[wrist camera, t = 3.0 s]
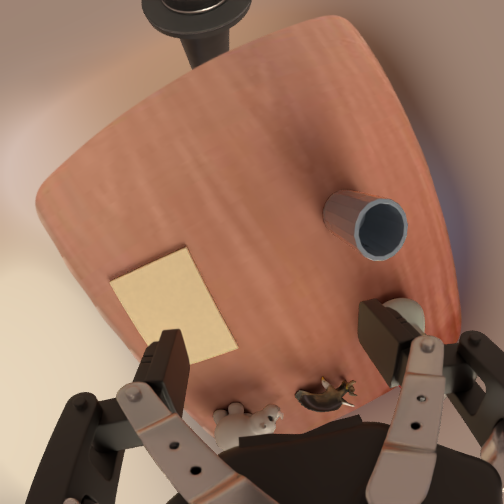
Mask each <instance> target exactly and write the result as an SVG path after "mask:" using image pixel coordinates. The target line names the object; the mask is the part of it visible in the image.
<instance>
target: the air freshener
mask: <svg viewBox="0 0 504 504" xmlns="http://www.w3.org/2000/svg"><path fill="white" fill-rule="evenodd" d="M382 305H383V306H384V307H390V308H392V309H394V310H396V311H397V312H399V313H400V314H401V315H402V317H404V318H405V319H406V320H407V322H409V323H410V324H411V325H412V326H413V327H414V328H415V329H416V330H417V331H418V332H419V333H420V334H421V335H426V334H425V333H424V331H425V319H424V313H423V310H422V308H421V306H420V305H419V304H418V303H417V302H415V301H414V300H412V299H408V298H396V299H392V300H389V301H387V302H385V303H384V304H382ZM369 358H370V357H369Z"/></svg>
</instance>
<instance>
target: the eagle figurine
mask: <svg viewBox="0 0 504 504" xmlns="http://www.w3.org/2000/svg"><path fill="white" fill-rule="evenodd" d="M354 383H356V381H354V380H352V381H350V382H349V383H348V382H347V381H346V380H344V381H343V382H342V384H341V385H340V387H338V388H337V389H335V388H334V387H333V386H332V385H331V384H329V383H328V382H327V381H326V380H325V379H324V377H322V385H323V386H324V388H325V390H326V391H325V392H323V393H321V394H316V393H309V392H306V391H302V390H299V392H297V394H295V398H297V399H298V400H299V401H298V402H300V403H301V405H302V406H304V407H305V408H307V409H308V410H312V411H316V412H329V411H334V410H337V409H339V408H340V406H341V404H345V405H349V406H352V407H354V405H353V404H350V403H348V402H347V401H346V400H344V399H343V398H342V397H343V396H344V395H345V394H346V393H347V392H349V395H352V396H357V395H356V394H354V393H353V392H354V391H355V389H354V387H353V386H352V385H353V384H354Z"/></svg>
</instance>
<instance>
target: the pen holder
mask: <svg viewBox="0 0 504 504" xmlns="http://www.w3.org/2000/svg"><path fill="white" fill-rule="evenodd" d="M323 220H324V223H325V226H326V227H327V229H328V230H329V231H330V232H331V233H332V234H333V235H334V236H336V237H337V238H339V239H340V240H342V241H343V242H344V243H346V244H347V245H349V246H350V247H352V248H353V249H354V250H356V251H357V252H359V253H360V254H362V255H363V256H364V257H366V258H369V259H371V260H373V261H383V260H386V259H388V258H390V257H392V256H394V255H395V254H396V253H397V252H398V251H399V250H400V249H401V247H402V246H403V243H404V241H405V239H406V236H407V228H408V223H407V219H406V214H405V212H404V211H403V209H402V208H401V206H400V205H399V204H398V203H396V202H394V201H393V200H391V199H388V198H384V197H380V196H376V195H371V194H367V193H363V192H358V191H354V190H340V191H337V192H335V193H334V194H332V195H331V196H330V197H329V198H328V200H327V201H326V203H325V206H324V209H323Z"/></svg>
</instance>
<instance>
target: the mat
mask: <svg viewBox="0 0 504 504" xmlns="http://www.w3.org/2000/svg"><path fill="white" fill-rule="evenodd" d="M110 284H111V286H112V288H113V290H114V292H115V293H116V295H117V297H118V299H119V300H120V302H121V304H122V305H123V307H124V309H125V310H126V312H127V314H128V315H129V317H130V319H131V320H132V322H133V323H134V325H135V327H136V328H137V330H138V331H139V333H140V334H141V336H142V338H143V339H144V341H145V342H146V344H147V345H148V346H149V345H150V344H151V343H152V342H154V341H159V339H160V336H161V333H162V331H163V330H168V329H180V330H181V332H182V336H183V339H184V343H185V346H186V350H187V353H188V357H189V362H190V364H194V363H197V362H200V361H203V360H206V359H209V358H212V357H215V356H218V355H221V354H223V353H226V352H229V351H232V350H235V349H238V345H237V343H236V341H235V339H234V337H233V336H232V334H231V332H230V330H229V328H228V326H227V324H226V323H225V321H224V319H223V317H222V315H221V313H220V311H219V309H218V307H217V306H216V304H215V302H214V300H213V298H212V296H211V294H210V292H209V290H208V288H207V286H206V284H205V282H204V280H203V278H202V276H201V274H200V272H199V270H198V268H197V266H196V264H195V262H194V260H193V258H192V256H191V254H190V252H189V250H188V248H187V246H186V247H184V248H182V249H180V250H177V251H175V252H173V253H171V254H168V255H166V256H164V257H162V258H159V259H157V260H155V261H153V262H151V263H148V264H146V265H144V266H142V267H140V268H137V269H135V270H133V271H131V272H129V273H127V274H124V275H122V276H120V277H118V278H116V279H114V280H112V281H110Z"/></svg>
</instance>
